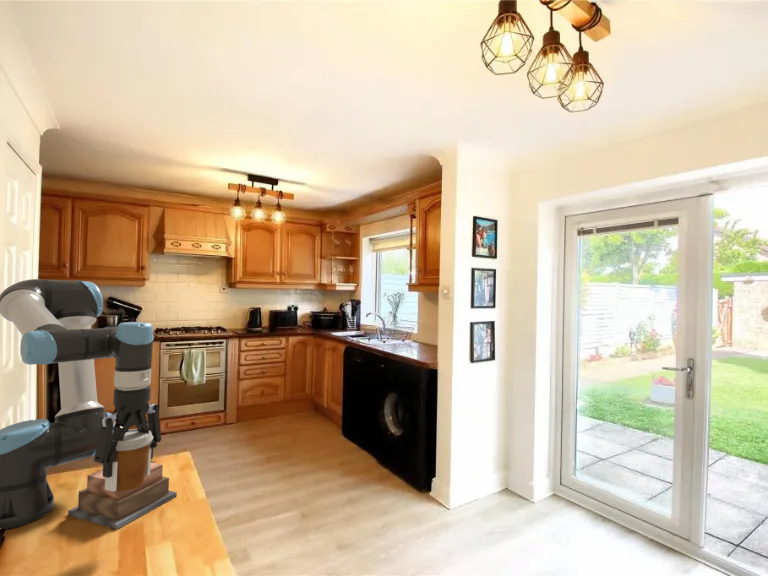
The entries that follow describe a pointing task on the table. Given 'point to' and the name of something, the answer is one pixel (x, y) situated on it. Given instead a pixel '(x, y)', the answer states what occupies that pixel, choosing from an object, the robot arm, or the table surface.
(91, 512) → the pink brown stepped block
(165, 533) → the table surface
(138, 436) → the disposable coffee cup
